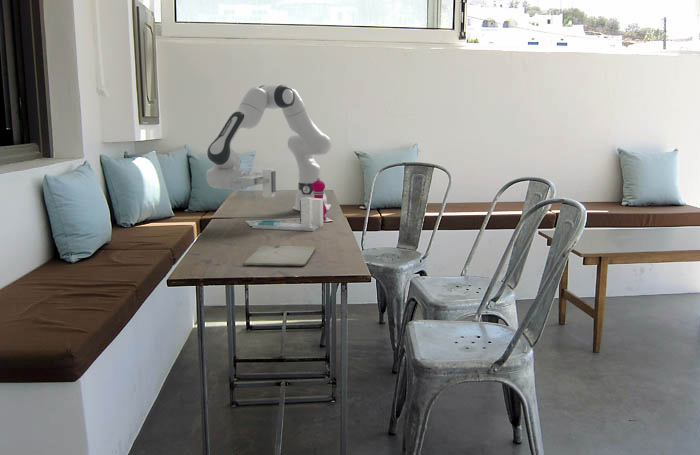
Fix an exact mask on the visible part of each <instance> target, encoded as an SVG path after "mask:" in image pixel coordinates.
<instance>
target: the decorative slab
mask: <svg viewBox="0 0 700 455" xmlns="http://www.w3.org/2000/svg"><path fill="white" fill-rule="evenodd" d="M316 248H317V246H299V245H297V246H295V245H284V246H282V245H274V246H270V245H260V247H259V248H258V249H256V250H255V252H253V253H252V254H251V255H250V256H249V257H248V258H247V259H246V260H245V261H244V262H243V266H274V267H275V266H282V267H283V266H285V267H286V266H295V267H296V266H297V267H300V266H301V267H302V266H305V265H306V264H307V263H308V261H309V260H310V258H311V256H313V253H314V252H315V250H316Z"/></svg>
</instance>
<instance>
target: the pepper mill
mask: <svg viewBox="0 0 700 455" xmlns="http://www.w3.org/2000/svg"><path fill="white" fill-rule="evenodd" d="M312 188H313V190H314V191H313V192H314V193H313V194H314V197H315V198H321V199H323V194H324V193H325V189H326V184H325V182H324V181H322V180H321V181H320V178H319V177H318V178H317V181H315V182H314V183H313V184H312ZM327 211H328V210H327V209H326V206H325V204H324V201H323V222H325V221H327V216H326V214H327Z"/></svg>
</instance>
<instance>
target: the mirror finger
mask: <svg viewBox="0 0 700 455" xmlns="http://www.w3.org/2000/svg"><path fill="white" fill-rule="evenodd" d="M313 224H319V228H321V227H323V226H324V221H323V199H321V198H314V199H313Z"/></svg>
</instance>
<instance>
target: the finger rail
mask: <svg viewBox="0 0 700 455" xmlns="http://www.w3.org/2000/svg"><path fill="white" fill-rule="evenodd" d="M299 219H300V222H301V223H298V222H295V223H294V222H281V221H280V220H276V219H275V220H274V219H273V220H272V219H263V220H260V221H258V222H255V223H252V224H251V229H259V230H260V229H265V230H279V231H280V230H283V231H284V230H285V231H305V232H315V231H316V230H318V229H319V228H320V227H319V224H313V197H303V198H301V200H300V211H299Z"/></svg>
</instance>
